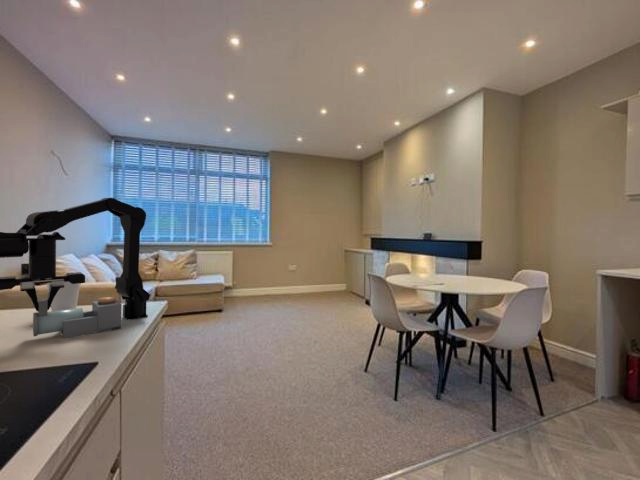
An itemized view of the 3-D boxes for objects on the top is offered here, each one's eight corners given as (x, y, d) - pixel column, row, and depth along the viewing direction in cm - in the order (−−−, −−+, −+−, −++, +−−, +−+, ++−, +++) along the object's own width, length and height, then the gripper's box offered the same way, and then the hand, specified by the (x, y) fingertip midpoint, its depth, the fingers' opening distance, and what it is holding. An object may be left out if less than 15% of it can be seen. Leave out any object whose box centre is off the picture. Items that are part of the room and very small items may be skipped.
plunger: (113, 308, 100) (113, 296, 100) (116, 311, 97) (116, 298, 97) (96, 310, 97) (96, 298, 97) (99, 313, 94) (99, 300, 94)
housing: (113, 321, 103) (114, 298, 103) (121, 328, 96) (121, 304, 96) (60, 330, 93) (60, 305, 93) (63, 339, 86) (64, 311, 86)
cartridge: (80, 325, 95) (80, 294, 95) (83, 330, 90) (83, 297, 90) (32, 333, 87) (33, 299, 87) (34, 339, 83) (34, 303, 82)
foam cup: (79, 309, 117) (79, 276, 117) (82, 314, 110) (82, 279, 110) (46, 314, 110) (46, 278, 110) (47, 319, 104) (47, 282, 103)
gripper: (79, 253, 98) (79, 300, 98) (-5, 255, 85) (-5, 310, 85) (85, 255, 90) (85, 307, 91) (-6, 258, 77) (-6, 318, 77)
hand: (42, 310), depth 86 cm, fingers closed on cartridge, 2 cm apart
